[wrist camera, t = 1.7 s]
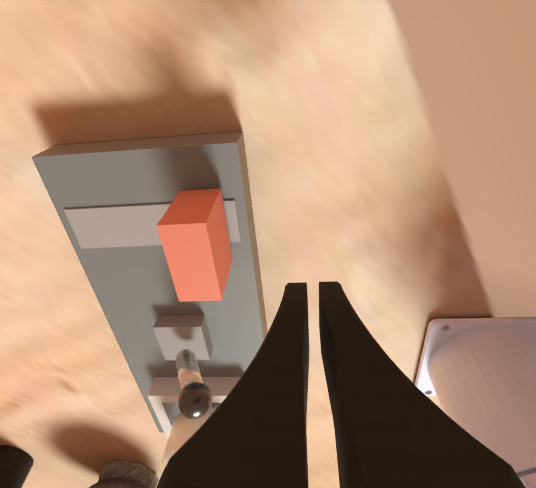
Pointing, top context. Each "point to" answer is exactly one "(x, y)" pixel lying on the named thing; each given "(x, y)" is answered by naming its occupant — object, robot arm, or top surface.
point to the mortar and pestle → (126, 476)
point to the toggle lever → (191, 387)
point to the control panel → (161, 256)
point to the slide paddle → (197, 244)
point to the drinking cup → (13, 467)
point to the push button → (182, 433)
